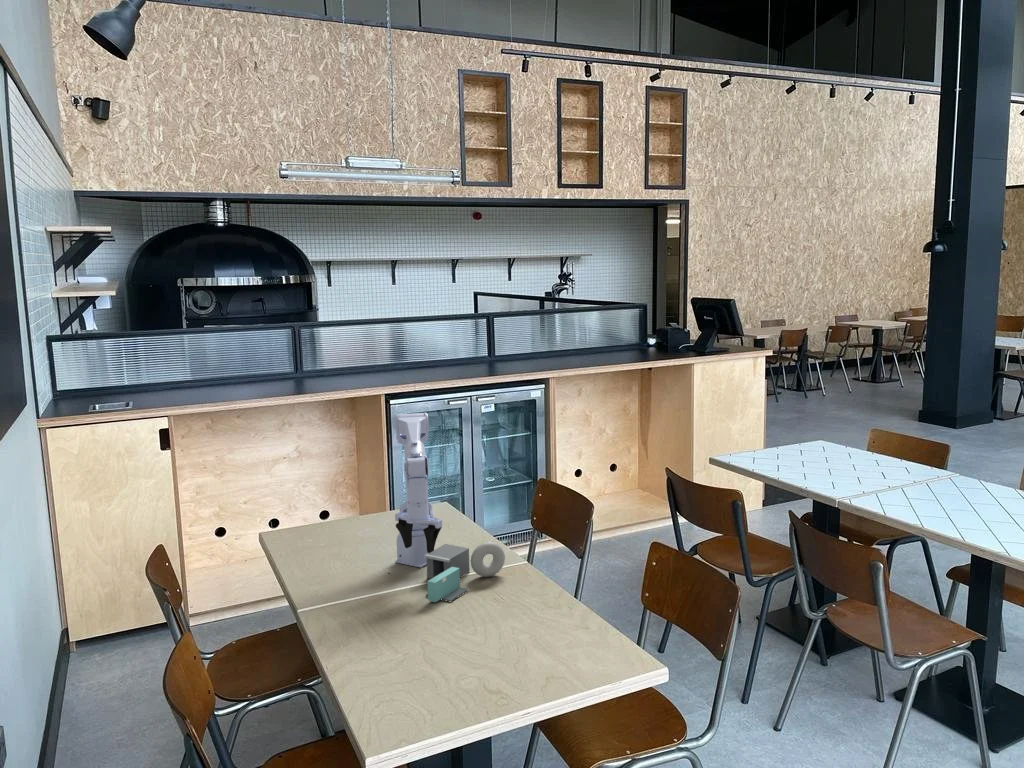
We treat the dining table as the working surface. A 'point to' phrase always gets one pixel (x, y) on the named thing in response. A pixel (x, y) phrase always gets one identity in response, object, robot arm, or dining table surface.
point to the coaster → (454, 594)
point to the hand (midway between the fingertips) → (419, 549)
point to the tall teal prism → (443, 584)
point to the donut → (496, 562)
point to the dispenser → (447, 560)
